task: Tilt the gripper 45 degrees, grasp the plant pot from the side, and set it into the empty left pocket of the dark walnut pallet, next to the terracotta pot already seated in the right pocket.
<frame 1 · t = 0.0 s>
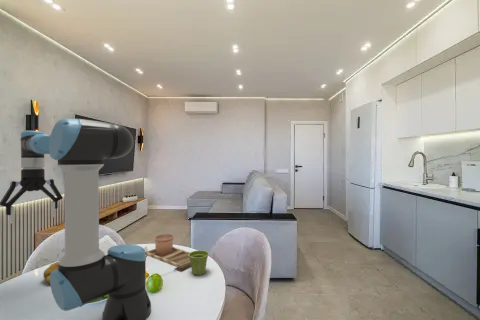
hand: (33, 219, 104), 28 cm above the table, tool pointing down, fingers open, 13 cm apart
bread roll: (56, 279, 111), on the table
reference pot: (164, 253, 137), point 1 cm above the table, touching pallet
plant pot: (198, 272, 117), on the table
pallet: (172, 259, 133), on the table
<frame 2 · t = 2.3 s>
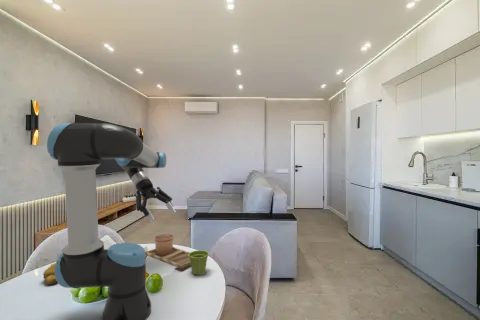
hand: (164, 217, 120), 25 cm above the table, tool tilted 40°, fingers open, 13 cm apart
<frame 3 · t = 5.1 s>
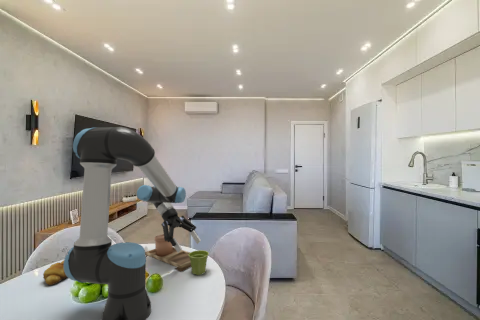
hand: (190, 246, 122), 11 cm above the table, tool tilted 45°, fingers open, 13 cm apart
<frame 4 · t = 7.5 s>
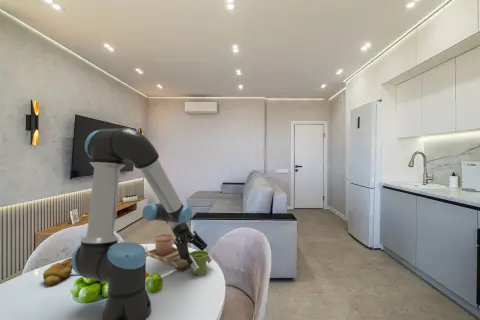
hand: (203, 265, 116), 4 cm above the table, tool tilted 45°, fingers closed on plant pot, 9 cm apart
plant pot: (198, 272, 117), on the table, touching gripper
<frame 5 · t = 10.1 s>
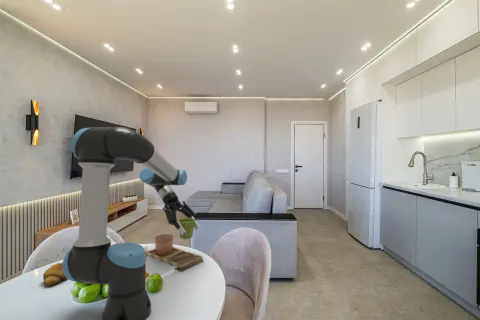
hand: (190, 230, 125), 17 cm above the table, tool tilted 45°, fingers closed on plant pot, 9 cm apart
plant pot: (186, 237, 126), point 13 cm above the table, touching gripper
when the fingers open (7 cm above the table, at t = 12.7 s): plant pot drops 1 cm, resting on pallet.
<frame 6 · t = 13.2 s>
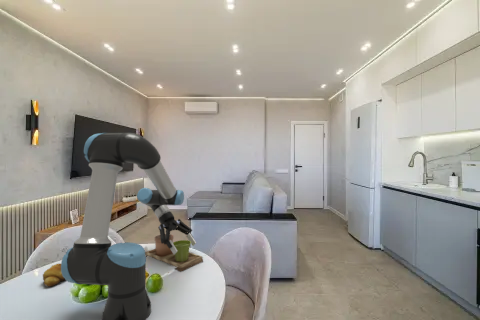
hand: (185, 248, 127), 8 cm above the table, tool tilted 45°, fingers open, 13 cm apart
plant pot: (181, 260, 128), point 1 cm above the table, touching pallet
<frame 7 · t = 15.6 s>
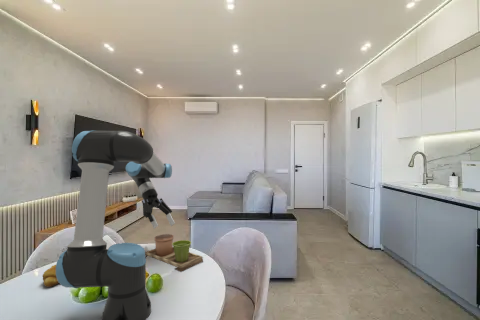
hand: (165, 225, 130), 18 cm above the table, tool tilted 40°, fingers open, 13 cm apart
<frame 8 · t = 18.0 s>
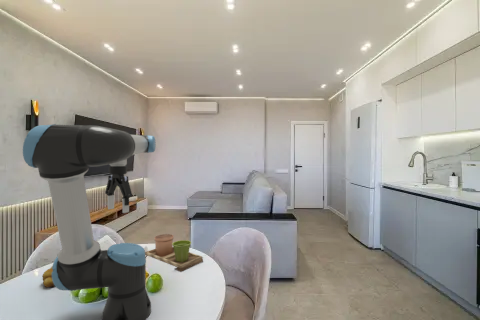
hand: (118, 210, 118), 29 cm above the table, tool pointing down, fingers open, 13 cm apart
at the end: plant pot 0.2 cm from the target spot on the pallet, point 1.3 cm above the pallet's base; plant pot tilted 0°; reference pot moved 0.0 cm from its start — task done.
